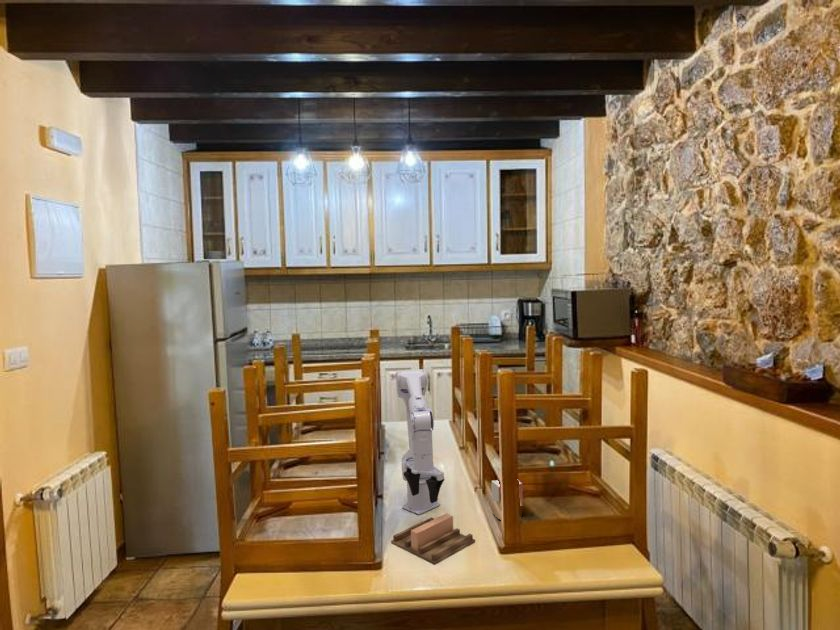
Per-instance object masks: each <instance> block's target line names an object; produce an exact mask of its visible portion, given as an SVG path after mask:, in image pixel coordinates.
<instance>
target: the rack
mask: <svg viewBox="0 0 840 630" xmlns="http://www.w3.org/2000/svg"><path fill="white" fill-rule="evenodd" d="M434 519H435V518H434V517H429V518H426V519H425V520H423V521H420V522H418V523H417V524H415V525H412V526H410V527H408V528H406V529H404V530H402V531H400V532H398V533H396V534H394V535H393V536H392V537H393V539H392V540H390V543H391V544H393V545H394V546H397V547H398V548H401V549H402V550H404V551H407V552H408V553H411V554H413V555H415V556H417V557H419V558H421V559H422V560H424V561H426V562H428V563H431V564H433V565H434V566H435V565H436V564H439V563H440V562H442V561H444V560H445V559H448V558H450V557H451V556H453V555H455V554H457V553H458V552H460V551H462V550H463V549H466V548H467V547H469V546H471V545H472V544H474V543H476V539H474V538H473V537H474V536H473V534H472V533H468V534H466V535H465V534H463V533H461V531H460V530H461V529H459V528H454V529H453V531H451V532H449V533H447V534H445V535H443V536H441V537H439V538H437V539H435V540H433V541H431V542H429V543H427V544H426V545H424V546H422V547H420V548H419V551H416V550H414V549H412V548H411V530H413V529H415V528H417V527H419V526H421V525H423V524H425V523H427V522H429V521H432V520H434Z"/></svg>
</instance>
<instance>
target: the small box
mask: <svg viewBox="0 0 840 630" xmlns="http://www.w3.org/2000/svg"><path fill="white" fill-rule="evenodd" d="M498 480H499V479H497V480H495V479H494V480H491V502H492V501H499V500H500V484H499V481H498ZM518 481H519V498H520V506H523V504H524V503H523V502H524V501H523V500H524V498H523V497H524V496H523V493H524V492H523V483H522V482H521V481H520V480H518ZM523 507H524V506H523Z"/></svg>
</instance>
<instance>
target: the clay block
mask: <svg viewBox="0 0 840 630" xmlns="http://www.w3.org/2000/svg"><path fill="white" fill-rule="evenodd" d="M453 530H454V516H453V515H452V514H449V513H445V514H442V515H440V516H438V517H436V518H434V520H432V521H429V522H427V523H425V524H423V525H421V526H419V527H417V528H415V529H413V530H411V548H412V549H414V550H416V551H419V548H420V547H422V546H424V545H426V544H427V543H429V542H431V541H433V540H435V539H437V538H439V537H441V536H443V535H445V534H447V533H449V532H451V531H453Z"/></svg>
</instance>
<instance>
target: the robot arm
mask: <svg viewBox="0 0 840 630" xmlns="http://www.w3.org/2000/svg"><path fill="white" fill-rule="evenodd" d="M427 373H428V372H427V370H426V369H425V368H422V369H421V368H420V369H418V368H417V369H404V370H399V369H398V370H396V372H395V383H396V392H397V397H399V398H400V399H402V400H403V402H404V404H405V409H406V410H405V411H406V412H405V413H406V425H407V433H408V434H407V435H408V445H409V446H408V447H409V449H408V450H406V452H404V454H402V457H401V474H402V480H403V481H405V482H406V488H407V491H406V492H407V503H405V504H403V505H402V506H401V508H402V509H405V510H406V511H409V512H411V513H413V514H416V515H418V516H419V515H422V514H424V513H426V512H428V511H430V510H432V509H434V508H435V509H436V508H437V507H439V506H440V505H441V504H440V503H439V495H440V490H441V488H442V485H443V483H444V481H445V473H444V471H441V470H440V469H438V468H437V467H435V464H434V453H433V452H434V451H433V450H434V449H433V431H434V426H435V422H434V421H435V419H434V418H435V417H434V414H433V411H432V409H431V408H429V403H428V399H427V398H426V396H425V395H426V392H427V386H428V374H427Z"/></svg>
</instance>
